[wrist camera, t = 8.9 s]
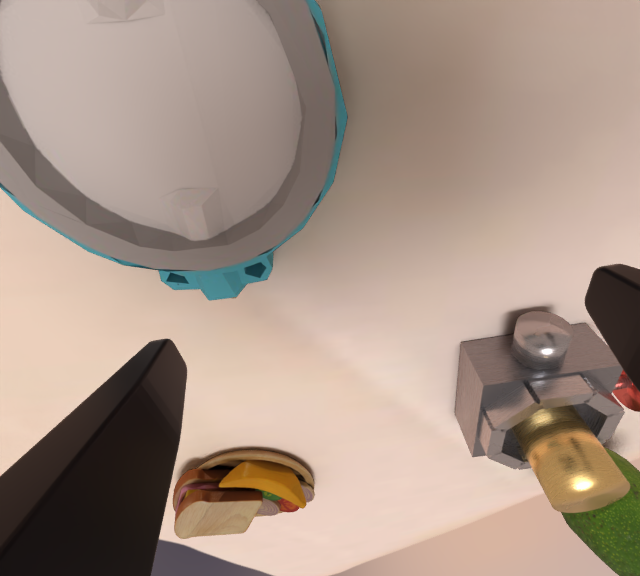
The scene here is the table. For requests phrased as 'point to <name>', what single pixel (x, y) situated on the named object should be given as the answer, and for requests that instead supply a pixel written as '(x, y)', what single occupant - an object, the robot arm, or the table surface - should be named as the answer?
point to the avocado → (614, 525)
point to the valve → (537, 383)
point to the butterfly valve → (170, 129)
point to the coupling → (569, 460)
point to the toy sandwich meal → (238, 492)
